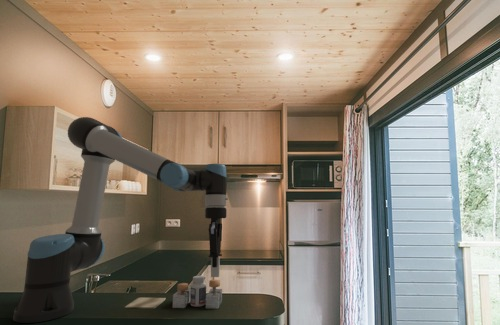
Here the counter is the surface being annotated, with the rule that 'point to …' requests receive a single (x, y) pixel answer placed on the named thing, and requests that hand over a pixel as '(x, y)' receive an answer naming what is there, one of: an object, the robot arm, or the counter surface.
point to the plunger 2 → (214, 284)
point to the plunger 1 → (182, 287)
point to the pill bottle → (198, 292)
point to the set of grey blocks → (184, 297)
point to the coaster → (145, 303)
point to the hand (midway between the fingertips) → (215, 276)
